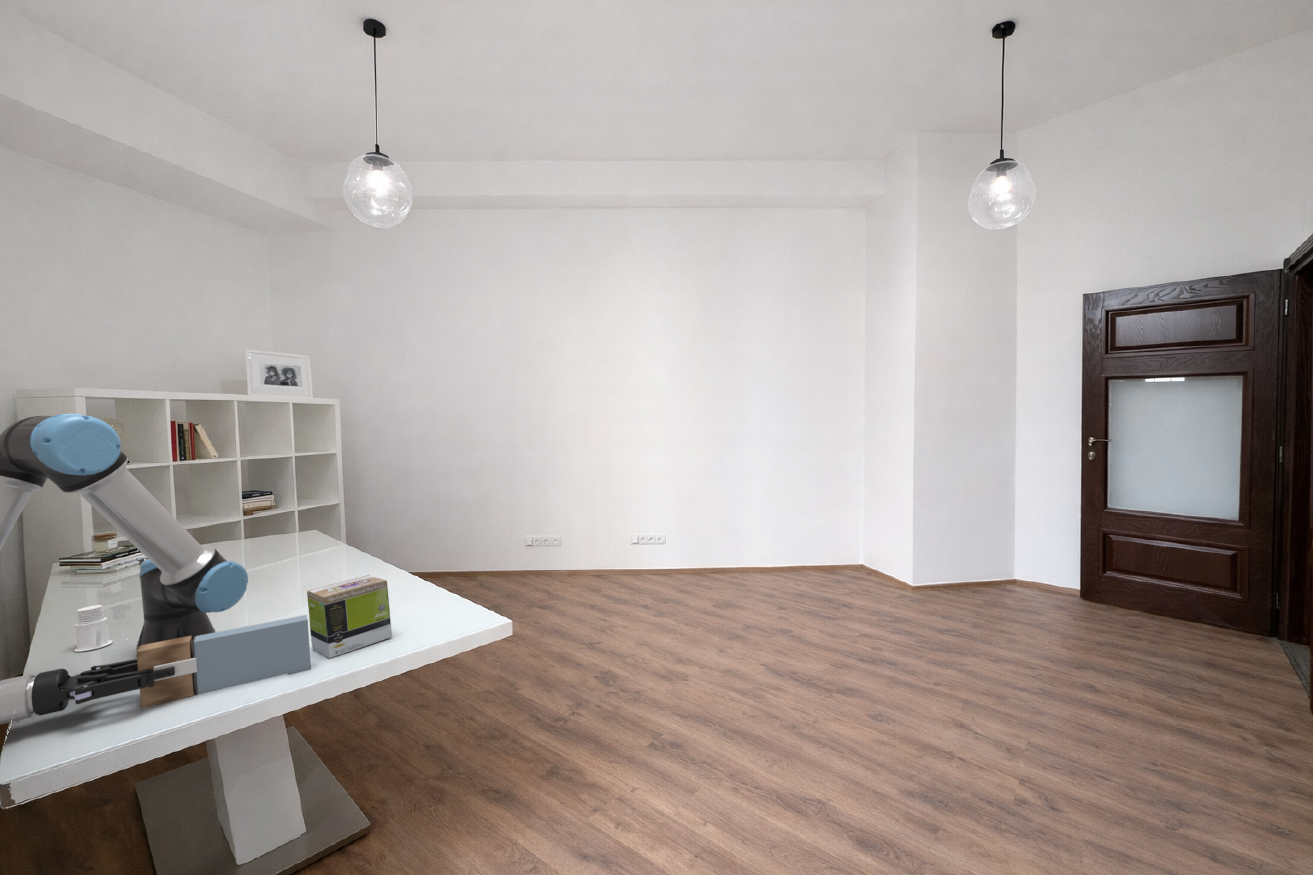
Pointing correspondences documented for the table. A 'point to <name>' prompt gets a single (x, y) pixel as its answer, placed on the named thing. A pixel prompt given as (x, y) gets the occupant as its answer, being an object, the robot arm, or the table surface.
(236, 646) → the blue-gray rectangular block
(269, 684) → the table surface
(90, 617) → the downlight
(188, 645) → the stub
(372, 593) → the tea box
